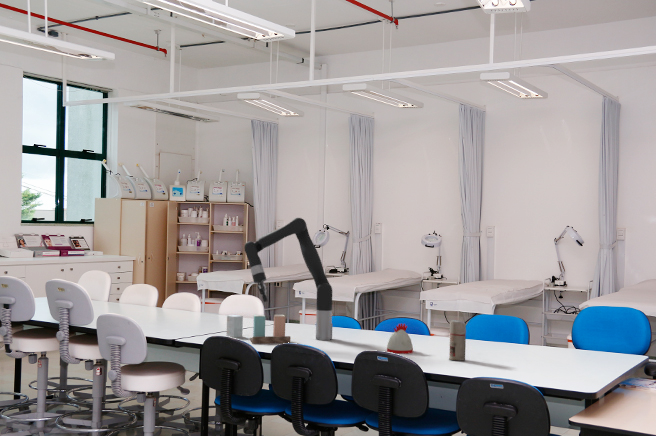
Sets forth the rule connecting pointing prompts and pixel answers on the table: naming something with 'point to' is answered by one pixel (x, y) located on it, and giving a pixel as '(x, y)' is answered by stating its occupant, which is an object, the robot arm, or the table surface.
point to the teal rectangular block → (259, 326)
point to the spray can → (457, 340)
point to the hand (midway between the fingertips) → (266, 301)
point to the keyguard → (270, 339)
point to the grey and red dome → (400, 341)
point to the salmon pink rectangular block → (279, 325)
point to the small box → (234, 325)
